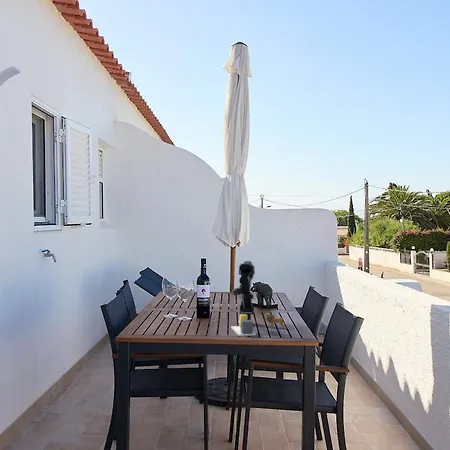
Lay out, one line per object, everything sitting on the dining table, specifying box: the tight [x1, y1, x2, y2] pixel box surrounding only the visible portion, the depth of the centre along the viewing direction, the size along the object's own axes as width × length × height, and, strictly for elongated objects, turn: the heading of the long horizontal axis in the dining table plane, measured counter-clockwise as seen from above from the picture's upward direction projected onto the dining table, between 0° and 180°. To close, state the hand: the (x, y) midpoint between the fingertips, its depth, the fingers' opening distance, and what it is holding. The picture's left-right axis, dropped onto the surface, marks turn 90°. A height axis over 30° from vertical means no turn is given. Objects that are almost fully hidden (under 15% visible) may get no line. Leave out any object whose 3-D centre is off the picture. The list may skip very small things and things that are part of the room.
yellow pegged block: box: [238, 313, 248, 327], centre depth 285 cm, size 4×4×8 cm
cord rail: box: [230, 319, 257, 337], centre depth 286 cm, size 22×10×8 cm, turn 11°
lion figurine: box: [264, 312, 288, 330], centre depth 298 cm, size 15×5×9 cm, turn 72°
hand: (245, 308), depth 298 cm, fingers closed
